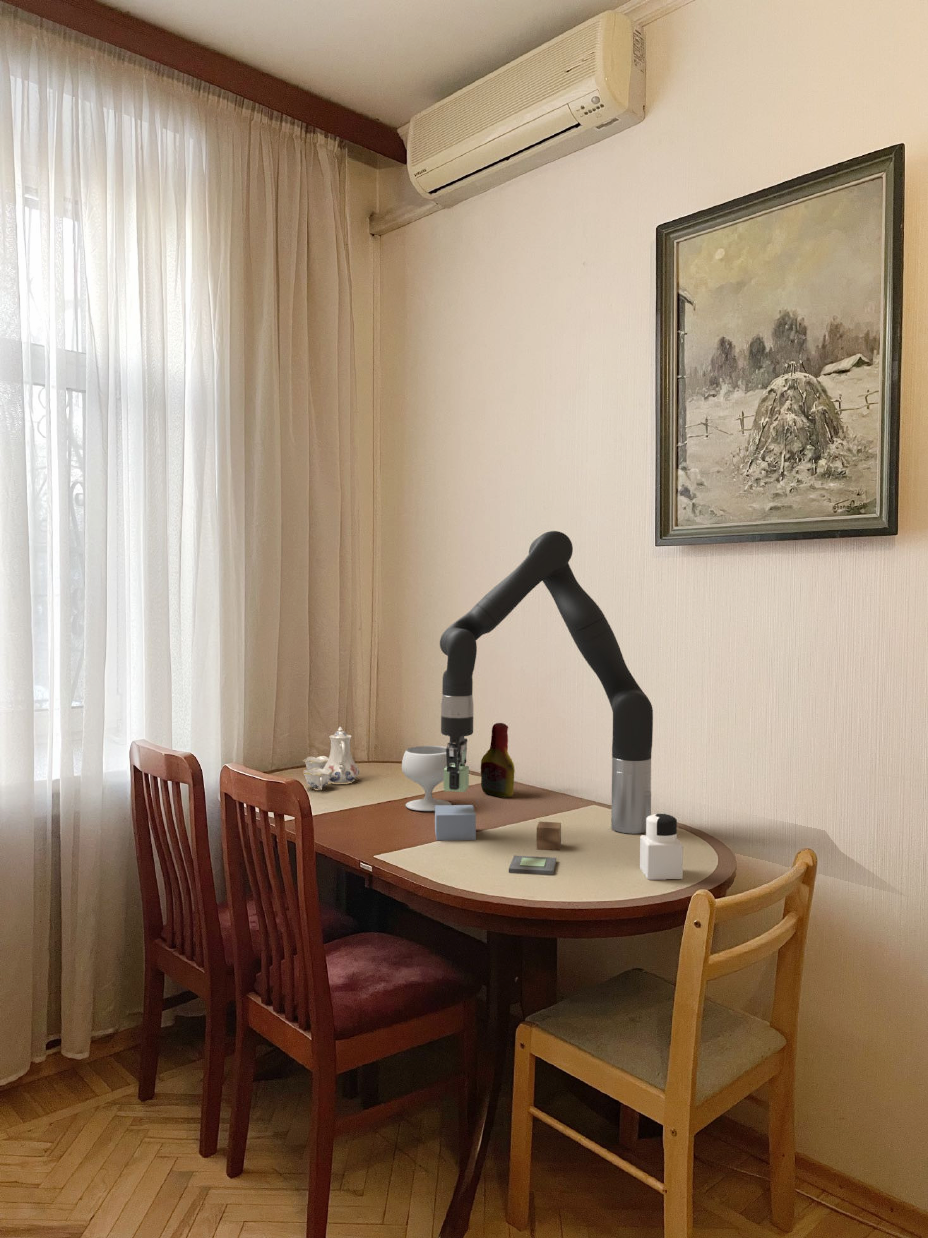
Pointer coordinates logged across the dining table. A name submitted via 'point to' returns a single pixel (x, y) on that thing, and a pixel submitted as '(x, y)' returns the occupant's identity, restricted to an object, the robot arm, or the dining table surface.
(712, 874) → the dining table surface
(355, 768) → the chinaware
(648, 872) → the medicine bottle
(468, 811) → the base block
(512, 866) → the tile
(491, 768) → the bottle
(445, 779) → the sage cube
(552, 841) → the walnut cube
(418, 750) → the chalice
